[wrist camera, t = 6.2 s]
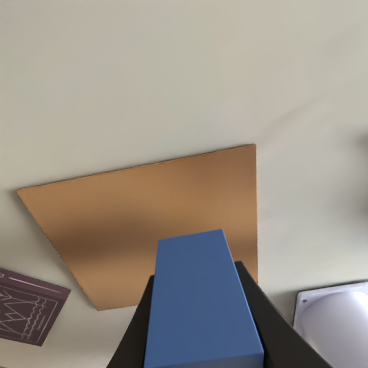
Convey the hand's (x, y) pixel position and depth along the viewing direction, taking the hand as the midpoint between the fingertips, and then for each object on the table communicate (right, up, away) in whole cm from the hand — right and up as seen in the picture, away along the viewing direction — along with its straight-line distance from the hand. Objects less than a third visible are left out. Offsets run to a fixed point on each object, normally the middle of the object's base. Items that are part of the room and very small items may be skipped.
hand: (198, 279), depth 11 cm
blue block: (0, +1, +1) cm, 2 cm away
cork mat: (-3, 0, +4) cm, 5 cm away
